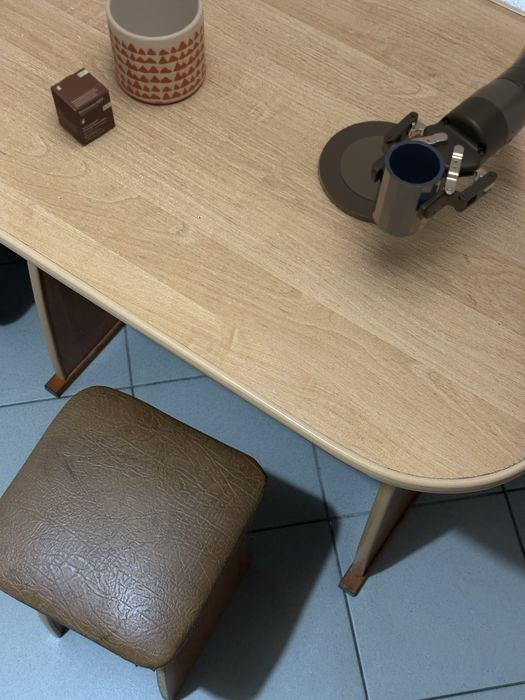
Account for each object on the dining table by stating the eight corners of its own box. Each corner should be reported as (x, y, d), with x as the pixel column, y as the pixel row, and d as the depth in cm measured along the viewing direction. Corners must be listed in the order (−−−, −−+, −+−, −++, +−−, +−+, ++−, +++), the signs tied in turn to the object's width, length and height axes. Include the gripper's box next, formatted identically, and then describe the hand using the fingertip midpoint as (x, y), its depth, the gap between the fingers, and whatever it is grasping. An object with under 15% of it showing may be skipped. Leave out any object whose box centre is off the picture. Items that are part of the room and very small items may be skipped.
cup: (425, 194, 106) (442, 141, 98) (428, 238, 103) (446, 187, 94) (371, 192, 106) (384, 138, 97) (373, 236, 103) (386, 185, 94)
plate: (437, 127, 125) (439, 122, 124) (447, 226, 117) (449, 221, 116) (317, 123, 125) (318, 117, 124) (319, 222, 116) (319, 217, 115)
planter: (101, 91, 126) (88, 23, 115) (138, 31, 132) (129, -40, 121) (185, 116, 125) (180, 50, 113) (218, 54, 131) (217, -15, 119)
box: (83, 147, 121) (74, 111, 115) (58, 123, 123) (48, 86, 117) (116, 126, 123) (109, 89, 117) (91, 103, 125) (83, 65, 119)
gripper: (448, 68, 103) (355, 138, 98) (540, 135, 99) (449, 213, 93) (435, 111, 110) (348, 179, 104) (521, 175, 105) (435, 250, 100)
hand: (396, 195), depth 99 cm, fingers closed on cup, 7 cm apart
